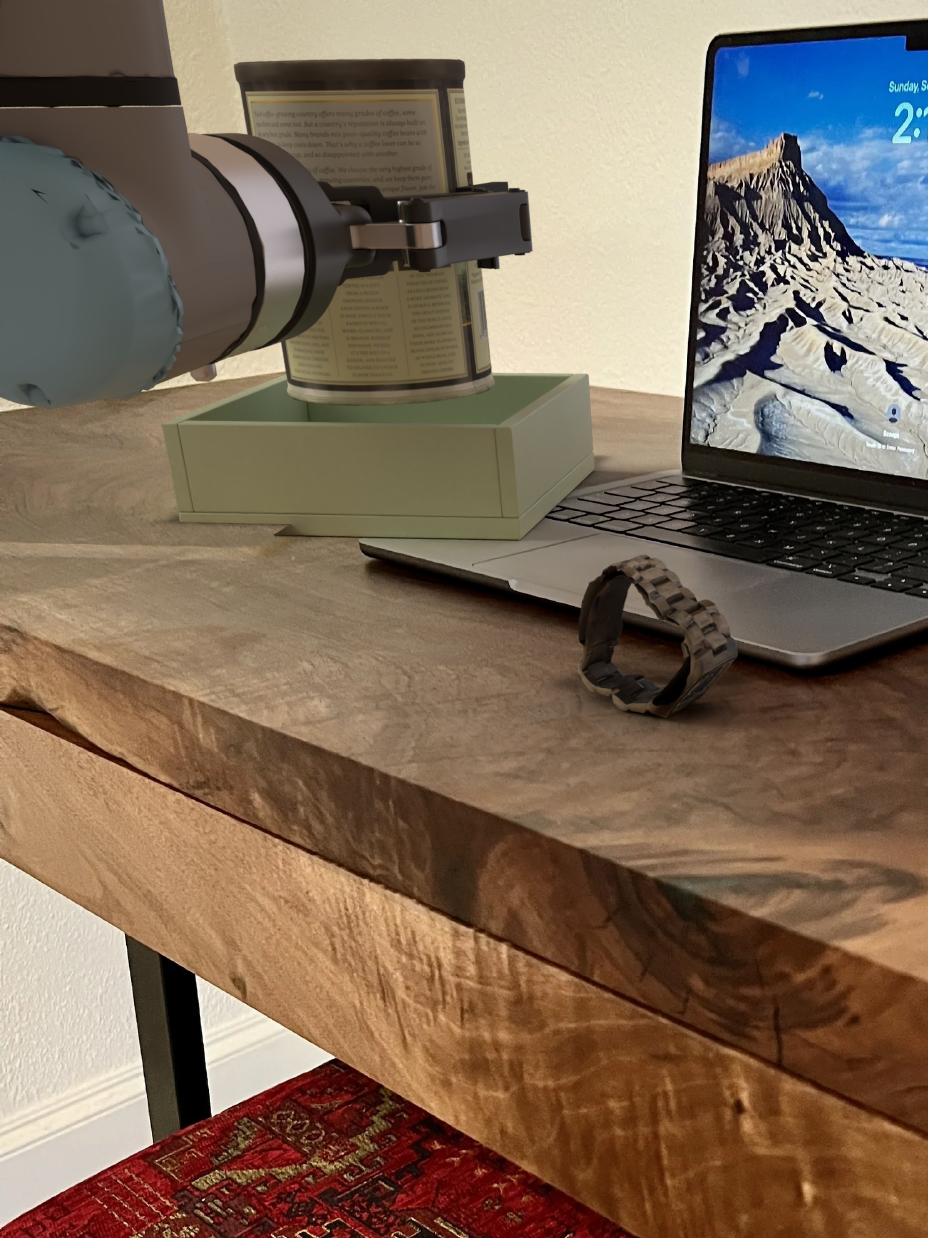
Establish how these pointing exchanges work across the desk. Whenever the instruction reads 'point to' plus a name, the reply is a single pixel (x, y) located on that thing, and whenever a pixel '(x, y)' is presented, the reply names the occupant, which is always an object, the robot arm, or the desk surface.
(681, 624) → the wristwatch
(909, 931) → the desk surface
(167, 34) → the robot arm
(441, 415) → the drawer tray
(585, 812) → the desk surface
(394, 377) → the coffee can
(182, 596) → the desk surface
